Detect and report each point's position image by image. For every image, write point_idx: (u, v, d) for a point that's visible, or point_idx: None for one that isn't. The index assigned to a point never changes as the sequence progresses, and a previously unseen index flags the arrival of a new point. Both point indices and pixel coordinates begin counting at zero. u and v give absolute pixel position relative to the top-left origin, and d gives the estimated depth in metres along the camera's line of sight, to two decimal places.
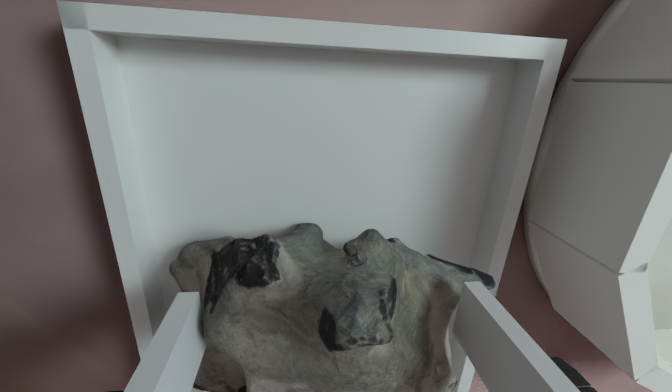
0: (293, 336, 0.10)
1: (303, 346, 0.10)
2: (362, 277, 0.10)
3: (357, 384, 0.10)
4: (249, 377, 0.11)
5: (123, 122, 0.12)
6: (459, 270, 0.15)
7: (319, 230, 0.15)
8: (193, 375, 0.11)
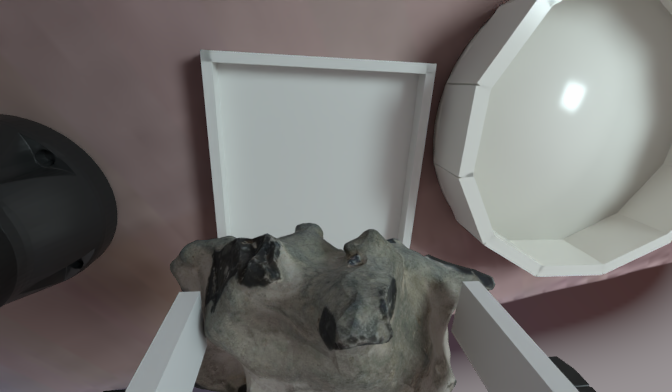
0: (294, 335, 0.10)
1: (303, 345, 0.10)
2: (362, 276, 0.10)
3: (357, 383, 0.10)
4: (250, 375, 0.11)
5: (218, 104, 0.26)
6: (459, 271, 0.15)
7: (320, 230, 0.15)
8: (194, 374, 0.11)
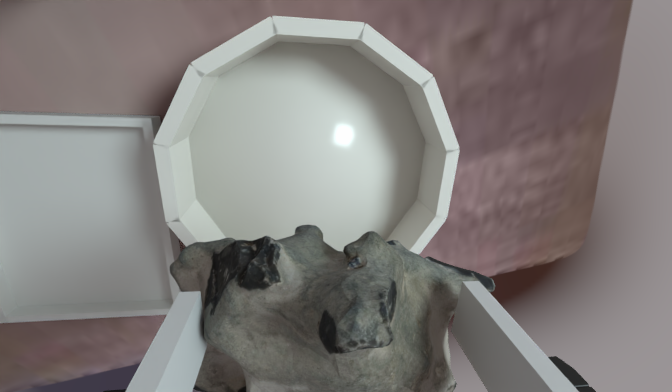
0: (293, 338, 0.10)
1: (303, 348, 0.10)
2: (362, 279, 0.10)
3: (357, 386, 0.10)
4: (249, 378, 0.11)
5: None
6: (459, 273, 0.15)
7: (319, 232, 0.15)
8: (195, 374, 0.11)
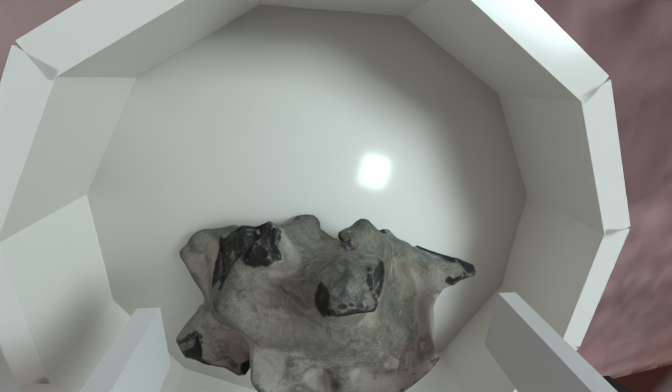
0: (292, 310, 0.12)
1: (301, 318, 0.12)
2: (353, 257, 0.11)
3: (347, 350, 0.11)
4: (252, 347, 0.13)
5: None
6: (444, 259, 0.16)
7: (317, 221, 0.16)
8: None
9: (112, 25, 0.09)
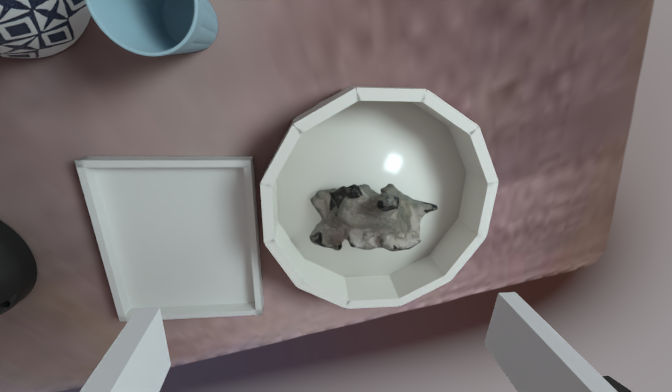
0: (366, 213, 0.33)
1: (369, 216, 0.33)
2: (388, 194, 0.33)
3: (386, 225, 0.33)
4: (349, 230, 0.34)
5: (97, 191, 0.36)
6: (424, 203, 0.37)
7: (369, 187, 0.38)
8: None
9: (320, 118, 0.30)
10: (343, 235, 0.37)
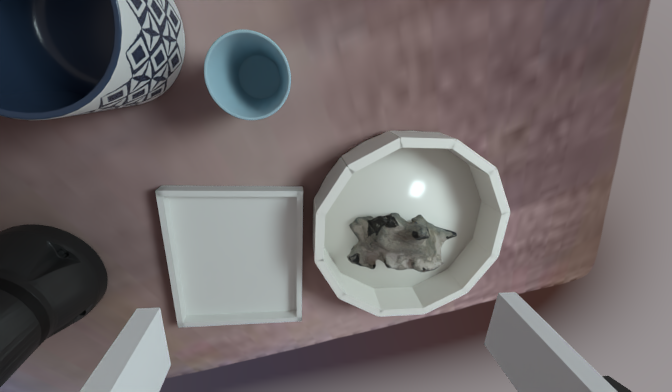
0: (401, 240, 0.40)
1: (404, 243, 0.40)
2: (420, 225, 0.40)
3: (418, 251, 0.39)
4: (385, 253, 0.41)
5: (169, 216, 0.41)
6: (445, 230, 0.44)
7: (399, 215, 0.45)
8: None
9: (369, 161, 0.37)
10: (378, 256, 0.43)
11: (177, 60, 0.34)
